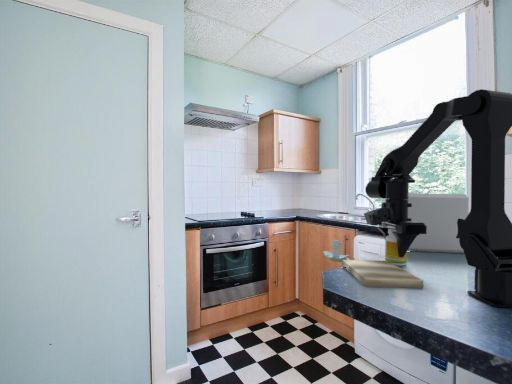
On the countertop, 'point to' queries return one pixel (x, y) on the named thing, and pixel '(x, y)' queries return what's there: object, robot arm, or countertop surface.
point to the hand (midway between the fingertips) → (395, 254)
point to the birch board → (381, 274)
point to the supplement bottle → (393, 250)
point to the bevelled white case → (438, 220)
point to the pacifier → (336, 252)
